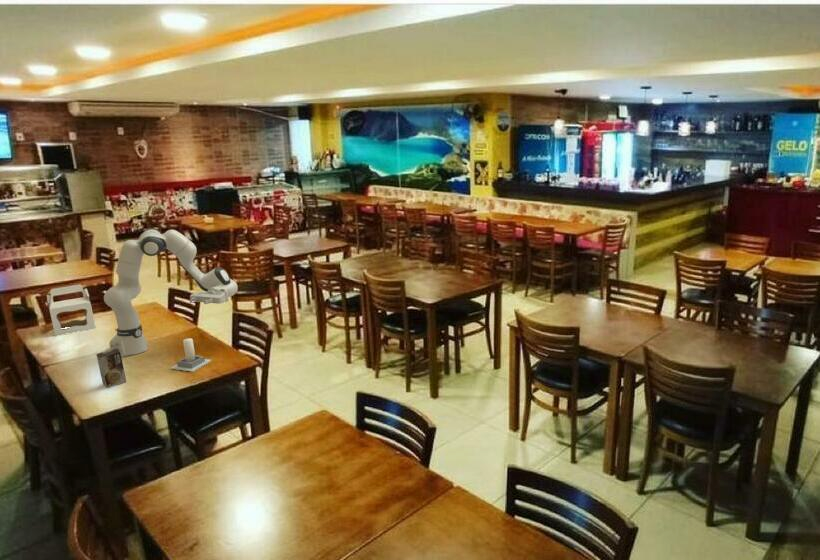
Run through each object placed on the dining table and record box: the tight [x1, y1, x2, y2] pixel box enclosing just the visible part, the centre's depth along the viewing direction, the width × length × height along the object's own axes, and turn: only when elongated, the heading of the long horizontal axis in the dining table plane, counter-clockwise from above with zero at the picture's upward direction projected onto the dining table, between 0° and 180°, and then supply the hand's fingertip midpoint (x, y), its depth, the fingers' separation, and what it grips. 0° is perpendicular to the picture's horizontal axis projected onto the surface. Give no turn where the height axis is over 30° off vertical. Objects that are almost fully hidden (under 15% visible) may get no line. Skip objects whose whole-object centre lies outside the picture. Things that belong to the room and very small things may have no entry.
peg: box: [182, 337, 196, 363], centre depth 284 cm, size 5×5×13 cm
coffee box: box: [96, 349, 127, 389], centre depth 267 cm, size 9×6×16 cm
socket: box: [170, 354, 213, 373], centre depth 286 cm, size 14×14×4 cm
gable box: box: [46, 283, 96, 337], centre depth 345 cm, size 22×13×28 cm, turn 124°
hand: (197, 302), depth 298 cm, fingers open, 8 cm apart
